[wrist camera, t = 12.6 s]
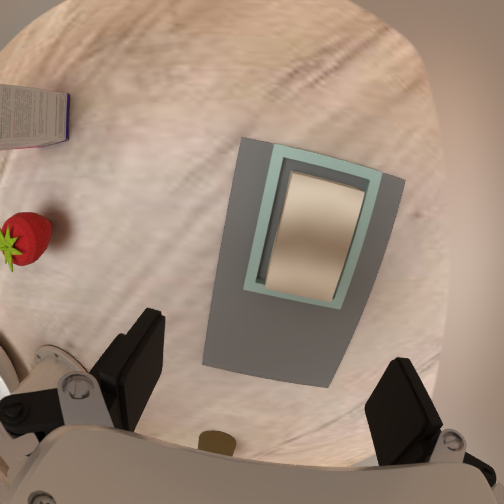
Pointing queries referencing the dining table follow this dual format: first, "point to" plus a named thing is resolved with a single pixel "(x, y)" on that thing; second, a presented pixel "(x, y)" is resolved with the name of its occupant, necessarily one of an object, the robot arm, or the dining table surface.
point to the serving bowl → (7, 375)
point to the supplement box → (32, 117)
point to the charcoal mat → (280, 309)
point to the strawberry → (24, 238)
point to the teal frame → (266, 207)
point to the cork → (217, 443)
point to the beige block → (313, 236)
